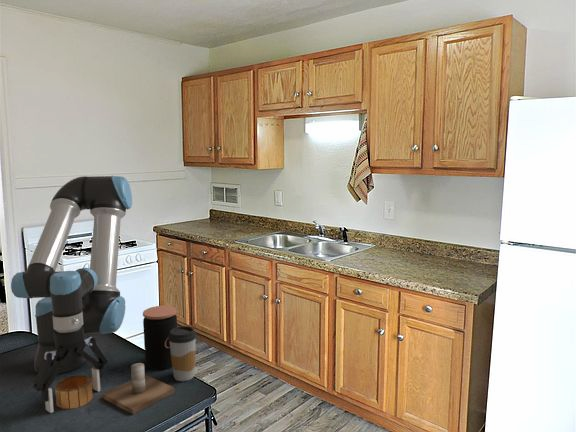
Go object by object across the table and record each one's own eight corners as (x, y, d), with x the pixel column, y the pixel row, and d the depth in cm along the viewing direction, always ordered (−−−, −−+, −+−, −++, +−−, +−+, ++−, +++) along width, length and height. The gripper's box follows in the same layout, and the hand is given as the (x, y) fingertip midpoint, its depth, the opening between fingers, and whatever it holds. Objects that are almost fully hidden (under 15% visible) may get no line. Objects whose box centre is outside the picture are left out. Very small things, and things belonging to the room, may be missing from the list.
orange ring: (50, 401, 129) (48, 385, 128) (81, 388, 136) (80, 372, 136) (67, 412, 124) (66, 395, 123) (99, 397, 131) (97, 381, 130)
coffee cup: (186, 367, 149) (184, 323, 146) (203, 375, 143) (201, 329, 141) (164, 377, 142) (162, 331, 140) (181, 386, 137) (179, 338, 135)
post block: (103, 398, 130) (101, 368, 129) (144, 378, 142) (142, 351, 140) (133, 414, 122) (131, 383, 121) (174, 392, 133) (173, 363, 132)
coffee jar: (170, 372, 146) (167, 317, 143) (139, 369, 148) (136, 315, 145) (184, 357, 156) (182, 306, 153) (155, 354, 158) (152, 304, 156)
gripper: (28, 346, 115) (34, 425, 117) (117, 317, 135) (121, 385, 137) (14, 339, 119) (21, 415, 122) (102, 312, 139) (106, 378, 142)
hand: (74, 400), depth 130 cm, fingers open, 13 cm apart
